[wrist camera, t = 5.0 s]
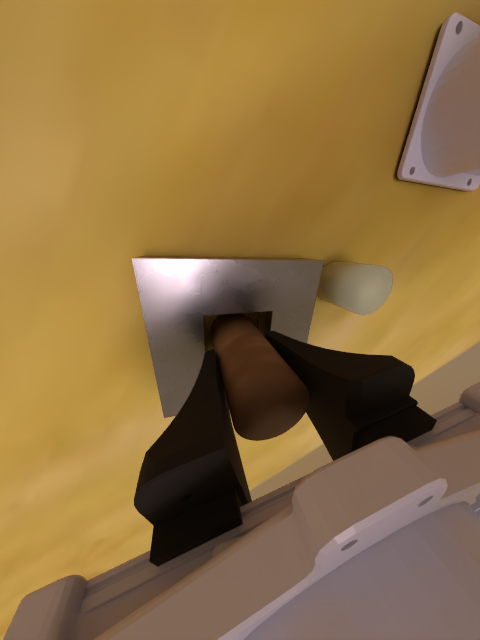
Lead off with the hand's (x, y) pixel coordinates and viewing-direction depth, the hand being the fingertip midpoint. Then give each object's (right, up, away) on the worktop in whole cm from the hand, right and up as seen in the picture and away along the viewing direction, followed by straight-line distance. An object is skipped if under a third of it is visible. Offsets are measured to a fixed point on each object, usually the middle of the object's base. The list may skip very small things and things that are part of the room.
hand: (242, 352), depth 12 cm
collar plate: (-1, +1, +3) cm, 4 cm away
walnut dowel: (-1, +1, +3) cm, 3 cm away
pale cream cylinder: (+8, +6, +4) cm, 11 cm away
